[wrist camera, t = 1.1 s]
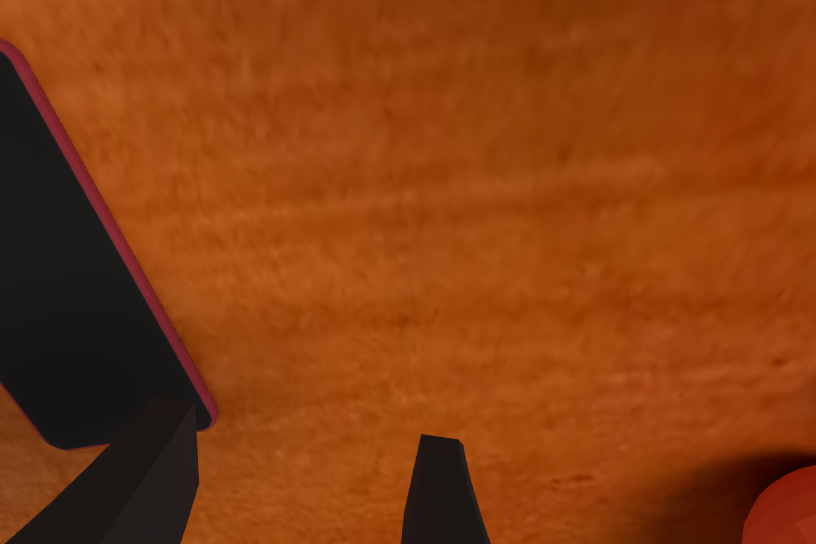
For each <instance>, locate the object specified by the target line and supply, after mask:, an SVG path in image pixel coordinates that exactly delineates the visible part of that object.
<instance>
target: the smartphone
mask: <svg viewBox="0 0 816 544" xmlns="http://www.w3.org/2000/svg"><path fill="white" fill-rule="evenodd" d="M0 384H1V385H2V387H3V388H4V389H5V391H6V392H7V393H8V395H9V396H10V397H11V399H12V400H13V401H14V402H15V404H16V405H17V406H18V408H19V409H20V410H21V412H22V413H23V414H24V415H25V417H26V418H27V419H28V421H29V422H30V423H31V425H32V426H33V427H34V429H35V430H36V431H37V432H38V434H39V435H40V436H41V438H42V439H43V440H44V441H45V442H46V443H48V444H49V445H51V446H53V447H56V448H58V449H61V450H67V451H70V450H77V449H84V448H91V447H98V446H105V445H110V444H111V443H112V442H113V441H114V440H115V439H116V438H117V437H118V436H119V434H120V433H121V432H122V431H123V430H124V429H125V428H126V427H127V426H128V425H129V424H130V423H131V422H132V421H133V419H134V418H135V417H136V416H137V415H138V414H139V413H140V412H141V411H142V410H143V409H144V408H145V406H146V405H147V404H148V403H149V402H150V401H151V400H152V399H154V398H156V397H157V396H159V397H166V398H173V399H180V400H187V401H194V402H195V413H196V432H202V431H205V430H208V429H210V428H211V427H213V425H214V424H215V422H216V420H217V417H218V408H217V405H216V403H215V401H214V399H213V397H212V395H211V394H210V392H209V390H208V388H207V386H206V384H205V383H204V381H203V379H202V377H201V375H200V374H199V372H198V370H197V368H196V366H195V365H194V363H193V361H192V359H191V357H190V355H189V354H188V352H187V350H186V348H185V346H184V345H183V343H182V341H181V339H180V337H179V336H178V334H177V332H176V330H175V328H174V326H173V325H172V323H171V321H170V319H169V317H168V316H167V314H166V312H165V310H164V308H163V307H162V305H161V303H160V301H159V299H158V298H157V296H156V294H155V292H154V290H153V288H152V287H151V285H150V283H149V281H148V279H147V278H146V276H145V274H144V272H143V270H142V269H141V267H140V265H139V263H138V261H137V259H136V258H135V256H134V254H133V252H132V250H131V249H130V247H129V245H128V243H127V241H126V240H125V238H124V236H123V234H122V232H121V230H120V229H119V227H118V225H117V223H116V221H115V220H114V218H113V216H112V214H111V212H110V211H109V209H108V207H107V205H106V203H105V201H104V200H103V198H102V196H101V194H100V192H99V191H98V189H97V187H96V185H95V183H94V182H93V180H92V178H91V176H90V174H89V172H88V171H87V169H86V167H85V165H84V163H83V162H82V160H81V158H80V156H79V154H78V153H77V151H76V149H75V147H74V145H73V144H72V142H71V140H70V138H69V136H68V134H67V133H66V131H65V129H64V127H63V125H62V124H61V122H60V120H59V118H58V116H57V115H56V113H55V111H54V109H53V107H52V105H51V104H50V102H49V100H48V98H47V96H46V95H45V93H44V91H43V89H42V87H41V86H40V84H39V82H38V80H37V78H36V76H35V75H34V73H33V71H32V69H31V67H30V66H29V64H28V62H27V60H26V59H25V57H24V56H23V54H22V53H21V52H20V51H19V50H18V49H17V48H16V47H15V46H13V45H12V44H11V43H9V42H7V41H6V40H3V39H1V38H0Z"/></svg>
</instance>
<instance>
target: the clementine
mask: <svg viewBox="0 0 816 544" xmlns="http://www.w3.org/2000/svg"><path fill="white" fill-rule="evenodd" d="M742 544H816V465H813V466H809V467H804V468H801V469H798V470H796V471H793V472H791V473H789V474H787V475H785V476H783V477H782V478H780V479H778V480H777V481H775V482H774V483H772V484H770V485H769V486H768V487H767V488H766V489H765V490H764V491H763V492H762V493H761V494H760V495H759V496H758V498H757V500H756V501H755V503H754V505H753V507H752V509H751V511H750V513H749V515H748V516H747V518H746V520H745V522H744V528H743V536H742Z"/></svg>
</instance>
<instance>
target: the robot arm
mask: <svg viewBox="0 0 816 544" xmlns="http://www.w3.org/2000/svg"><path fill="white" fill-rule="evenodd" d="M198 485H199V473H198V453H197V433H196V413H195V402H194V401H187V400H180V399H173V398H166V397H159V396H157V397H156V398H154V399H152V400H151V401H150V402H149V403H148V404H147V405H146V406H145V408H144V409H143V410H142V411H141V412H140V413H139V414H138V415H137V416H136V417H135V418H134V419H133V421H132V422H131V423H130V424H129V425H128V426H127V427H126V428H125V429H124V430H123V431H122V432H121V433H120V434H119V436H118V437H117V438H116V439H115V440H114V441H113V442H112V443H111V444H110V445H109V446H108V447H107V448H106V449H105V450H104V451H103V452H102V453H101V454H100V455H99V456H98V457H97V458H96V459H95V460H94V461H93V462H92V463H91V464H90V465H89V466H88V467H87V468H86V469H85V470H84V471H83V472H82V473H81V474H80V475H79V476H78V477H77V478H76V479H75V480H74V481H73V482H72V483H71V484H70V485H69V486H67V487H66V488H65V489H64V490H63V491H62V492H61V493H60V494H59V495H58V496H57V497H56V498H55V499H54V500H53V501H52V502H51V503H50V504H49V505H48V506H47V507H45V508H44V509H43V510H42V511H41V512H40V513H39V514H38V515H37V516H35V517H34V518H33V519H32V520H31V521H30V522H29V523H28V524H26V525H25V526H24V527H23V528H22V529H21V530H20V531H18V532H17V533H16V534H15V535H14V536H13V537H12V538H11V539H9V540H8V541H7V542H6V543H5V544H180V543H181V540H182V537H183V534H184V531H185V528H186V525H187V521H188V518H189V515H190V512H191V508H192V505H193V502H194V498H195V495H196V492H197V488H198ZM401 544H491V543H490V540H489V538H488V535H487V532H486V529H485V526H484V523H483V520H482V517H481V513H480V510H479V507H478V503H477V500H476V497H475V493H474V490H473V486H472V483H471V479H470V475H469V471H468V466H467V462H466V457H465V452H464V446H463V444H462V443H461V442H460V441H459V440H458V439H452V438H445V437H438V436H431V435H424V434H421V438H420V443H419V447H418V452H417V456H416V461H415V465H414V470H413V474H412V479H411V483H410V488H409V493H408V497H407V502H406V506H405V511H404V519H403V529H402V539H401Z"/></svg>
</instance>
